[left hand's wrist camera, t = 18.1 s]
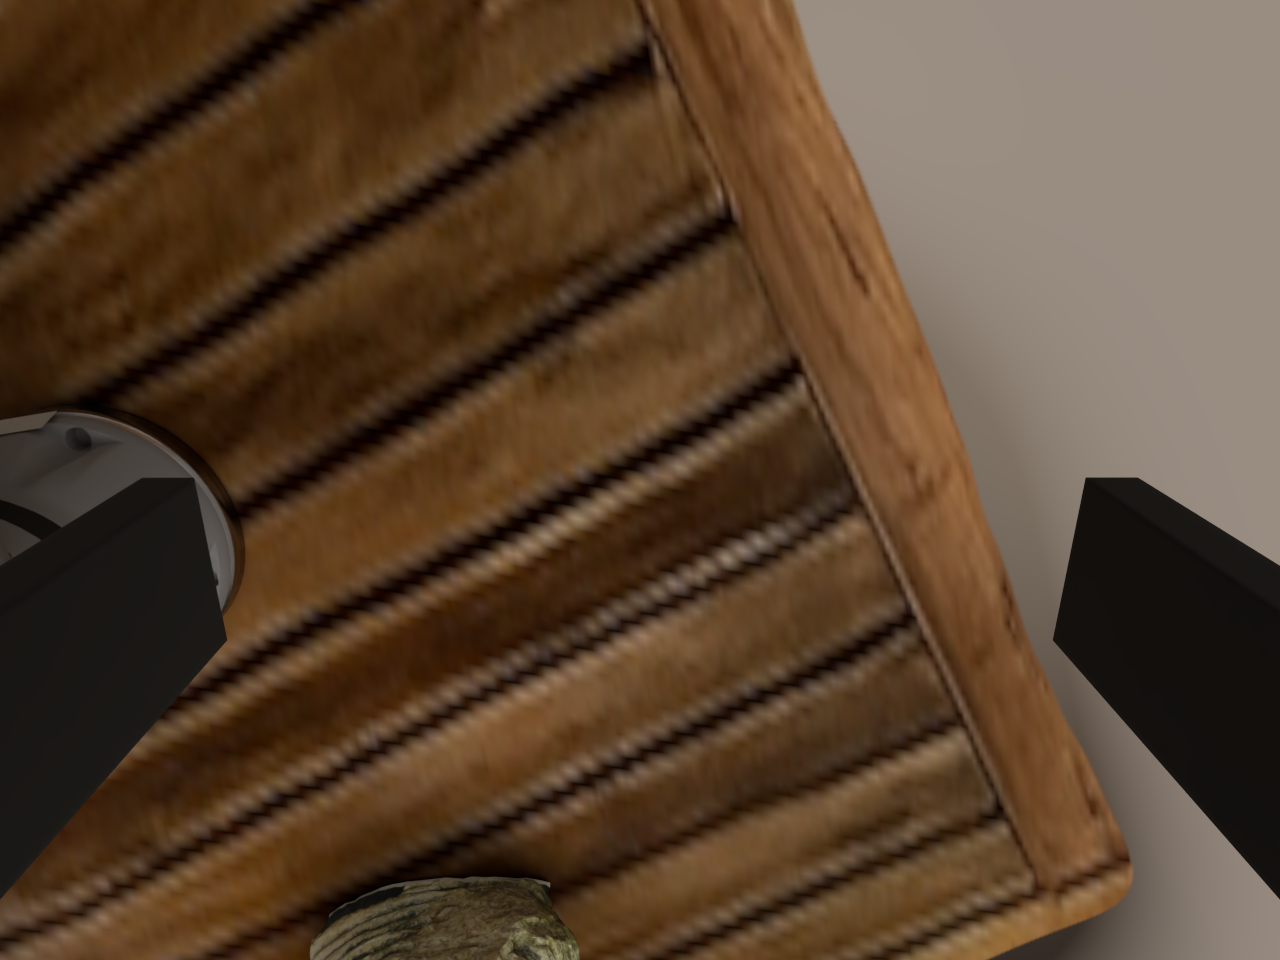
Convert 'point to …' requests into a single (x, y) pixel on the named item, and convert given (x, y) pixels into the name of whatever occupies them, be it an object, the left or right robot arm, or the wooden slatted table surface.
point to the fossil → (449, 923)
